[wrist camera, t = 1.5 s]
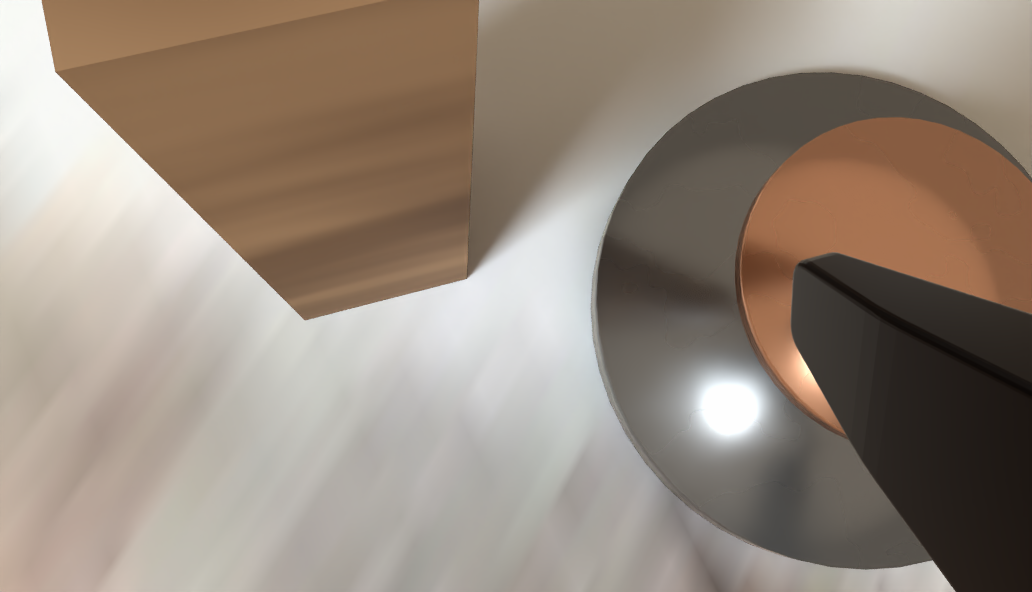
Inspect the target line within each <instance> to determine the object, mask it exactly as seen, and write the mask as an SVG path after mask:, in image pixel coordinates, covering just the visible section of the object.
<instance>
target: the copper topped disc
mask: <svg viewBox="0 0 1032 592" xmlns="http://www.w3.org/2000/svg"><path fill="white" fill-rule="evenodd" d="M831 252H837V253H841V254H844V255H847V256H850V257H854V258H857V259H860V260H863V261H866V262H869V263H873V264H876V265H879V266H882V267H885V268H888V269H891V270H895V271H898V272H901V273H904V274H907V275H910V276H914V277H917V278H920V279H923V280H926V281H929V282H933V283H936V284H939V285H942V286H945V287H948V288H952V289H955V290H958V291H961V292H964V293H967V294H971V295H974V296H977V297H980V298H983V299H986V300H989V301H993V302H996V303H999V304H1002V305H1005V306H1008V307H1012V308H1015V309H1018V310H1021V311H1024V312H1027V313H1031V314H1032V178H1031V177H1030V176H1029V174H1028V173H1027V172H1026V170H1025V169H1024V168H1023V167H1022V166H1021V165H1020V164H1019V162H1018V161H1017V160H1016V159H1015V158H1014V157H1013V156H1012V155H1011V154H1010V153H1009V152H1008V151H1007V150H1006V149H1005V148H1004V147H1003V146H1002V145H1001V144H1000V143H999V142H997V141H996V140H995V139H994V138H993V137H991V136H990V135H989V134H988V133H986V132H985V131H984V130H983V129H981V128H980V127H979V126H978V125H977V124H975V123H974V122H972V121H971V120H969V119H967V118H966V117H964V116H963V115H961V114H960V113H958V112H957V111H955V110H954V109H952V108H950V107H949V106H947V105H945V104H943V103H941V102H939V101H937V100H935V99H932V98H930V97H928V96H926V95H924V94H922V93H920V92H917V91H914V90H912V89H909V88H906V87H903V86H900V85H897V84H895V83H892V82H888V81H883V80H879V79H874V78H870V77H865V76H860V75H851V74H841V73H799V74H792V75H786V76H779V77H772V78H768V79H765V80H761V81H758V82H754V83H751V84H747V85H744V86H741V87H739V88H737V89H734V90H732V91H730V92H727V93H725V94H723V95H721V96H718V97H716V98H714V99H713V100H711V101H709V102H708V103H706V104H704V105H703V106H701V107H699V108H698V109H696V110H695V111H693V112H691V113H690V114H688V115H687V116H686V117H685V118H684V119H682V120H681V121H680V122H679V123H677V124H676V125H675V126H674V127H673V128H671V129H670V130H669V131H668V132H667V133H666V134H665V135H664V136H663V137H662V138H661V139H660V140H659V141H658V142H657V143H656V144H655V146H654V147H653V148H652V149H651V150H650V151H649V152H648V153H647V154H646V156H645V157H644V159H643V160H642V161H641V163H640V164H639V166H638V167H637V169H636V170H635V172H634V173H633V174H632V176H631V177H630V179H629V180H628V182H627V184H626V186H625V187H624V189H623V191H622V192H621V194H620V196H619V198H618V200H617V202H616V204H615V206H614V208H613V210H612V212H611V214H610V216H609V218H608V221H607V224H606V227H605V230H604V233H603V235H602V238H601V241H600V244H599V247H598V252H597V257H596V263H595V268H594V273H593V279H592V296H591V318H592V332H593V342H594V347H595V352H596V356H597V361H598V366H599V371H600V374H601V377H602V380H603V383H604V386H605V389H606V392H607V394H608V397H609V400H610V403H611V405H612V407H613V409H614V411H615V413H616V415H617V417H618V419H619V421H620V423H621V425H622V427H623V429H624V431H625V433H626V435H627V436H628V438H629V439H630V441H631V442H632V444H633V445H634V447H635V448H636V450H637V451H638V453H639V454H640V456H641V457H642V459H643V460H644V462H645V463H646V464H647V465H648V466H649V467H650V469H651V470H652V471H653V472H654V473H655V474H656V476H657V477H658V478H659V479H660V480H661V481H662V483H663V484H664V485H665V486H666V487H667V488H668V489H669V490H670V491H671V492H673V493H674V494H675V495H676V496H677V497H678V498H679V499H680V500H681V501H683V502H684V503H685V504H686V505H687V506H688V507H689V508H690V509H692V510H693V511H694V512H696V513H697V514H699V515H700V516H702V517H703V518H705V519H706V520H707V521H709V522H710V523H712V524H713V525H715V526H716V527H718V528H719V529H721V530H723V531H725V532H727V533H729V534H731V535H733V536H735V537H736V538H738V539H740V540H742V541H744V542H746V543H748V544H750V545H753V546H756V547H759V548H761V549H764V550H767V551H770V552H773V553H775V554H778V555H781V556H785V557H789V558H793V559H797V560H801V561H806V562H811V563H815V564H820V565H825V566H829V567H839V568H852V569H880V568H895V567H903V566H907V565H912V564H917V563H922V562H926V561H931V560H932V558H931V557H930V556H929V554H928V553H927V552H926V550H925V549H924V547H923V546H922V545H921V543H920V542H919V541H918V539H917V538H916V536H915V535H914V534H913V532H912V531H911V530H910V528H909V527H908V525H907V524H906V523H905V521H904V520H903V519H902V517H901V516H900V514H899V513H898V512H897V510H896V509H895V508H894V506H893V505H892V503H891V502H890V501H889V499H888V498H887V497H886V495H885V494H884V492H883V491H882V490H881V488H880V487H879V486H878V484H877V483H876V481H875V480H874V479H873V477H872V476H871V474H870V473H869V471H868V470H867V468H866V467H865V465H864V464H863V463H862V461H861V459H860V458H859V456H858V454H857V453H856V451H855V449H854V448H853V446H852V445H851V443H850V441H849V439H848V438H847V436H846V434H845V432H844V431H843V429H842V427H841V425H840V423H839V422H838V420H837V418H836V416H835V415H834V413H833V411H832V409H831V408H830V406H829V404H828V402H827V400H826V399H825V397H824V395H823V393H822V392H821V390H820V388H819V386H818V385H817V383H816V381H815V379H814V377H813V376H812V374H811V372H810V370H809V369H808V367H807V365H806V363H805V362H804V360H803V358H802V356H801V355H800V353H799V351H798V349H797V347H796V345H795V343H794V340H793V337H792V333H791V323H790V322H791V302H792V282H793V272H794V269H795V266H796V265H797V264H798V263H799V262H800V261H801V260H804V259H808V258H811V257H815V256H819V255H823V254H826V253H831Z"/></svg>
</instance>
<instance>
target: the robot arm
mask: <svg viewBox="0 0 1032 592" xmlns="http://www.w3.org/2000/svg"><path fill="white" fill-rule="evenodd" d="M790 323H791V333H792V337H793V340H794V343H795V345H796V347H797V349H798V351H799V353H800V355H801V356H802V358H803V360H804V362H805V363H806V365H807V367H808V369H809V370H810V372H811V374H812V376H813V377H814V379H815V381H816V383H817V385H818V386H819V388H820V390H821V392H822V393H823V395H824V397H825V399H826V400H827V402H828V404H829V406H830V408H831V409H832V411H833V413H834V415H835V416H836V418H837V420H838V422H839V423H840V425H841V427H842V429H843V431H844V432H845V434H846V436H847V438H848V439H849V441H850V443H851V445H852V446H853V448H854V449H855V451H856V453H857V454H858V456H859V458H860V459H861V461H862V463H863V464H864V465H865V467H866V468H867V470H868V471H869V473H870V474H871V476H872V477H873V479H874V480H875V481H876V483H877V484H878V486H879V487H880V488H881V490H882V491H883V492H884V494H885V495H886V497H887V498H888V499H889V501H890V502H891V503H892V505H893V506H894V508H895V509H896V510H897V512H898V513H899V514H900V516H901V517H902V519H903V520H904V521H905V523H906V524H907V525H908V527H909V528H910V530H911V531H912V532H913V534H914V535H915V536H916V538H917V539H918V541H919V542H920V543H921V545H922V546H923V547H924V549H925V550H926V552H927V553H928V554H929V556H930V557H931V558H932V560H933V561H934V563H935V564H936V565H937V567H938V568H939V569H940V571H941V572H942V574H943V575H944V576H945V578H946V579H947V580H948V582H949V583H950V585H951V586H952V587H953V589H954V590H955V591H956V592H1032V314H1031V313H1027V312H1024V311H1021V310H1018V309H1015V308H1012V307H1008V306H1005V305H1002V304H999V303H996V302H993V301H989V300H986V299H983V298H980V297H977V296H974V295H971V294H967V293H964V292H961V291H958V290H955V289H952V288H948V287H945V286H942V285H939V284H936V283H933V282H929V281H926V280H923V279H920V278H917V277H914V276H910V275H907V274H904V273H901V272H898V271H895V270H891V269H888V268H885V267H882V266H879V265H876V264H873V263H869V262H866V261H863V260H860V259H857V258H854V257H850V256H847V255H844V254H841V253H837V252H831V253H826V254H823V255H819V256H815V257H811V258H808V259H804V260H801V261H800V262H799V263H798V264H797V265H796V266H795V269H794V272H793V282H792V302H791V322H790Z"/></svg>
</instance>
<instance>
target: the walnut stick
mask: <svg viewBox="0 0 1032 592" xmlns="http://www.w3.org/2000/svg"><path fill="white" fill-rule="evenodd" d="M42 5H43V10H44V15H45V20H46V25H47V31H48V36H49V41H50V46H51V51H52V57H53V62H54V67H55V72H56V73H57V74H58V75H59V76H60V77H61V78H62V79H63V80H64V81H65V82H66V83H67V84H68V85H69V86H70V87H71V88H72V89H73V90H74V91H75V92H76V93H77V94H78V95H79V96H80V97H81V98H82V99H83V100H84V101H85V102H86V103H87V104H88V105H89V106H90V107H91V108H92V109H93V110H94V111H95V112H96V113H97V114H98V115H99V116H100V117H101V118H102V119H103V120H104V121H105V122H106V123H107V124H108V125H109V126H110V127H111V128H112V129H113V130H114V131H115V132H116V133H117V134H118V135H119V136H120V137H121V138H122V139H123V140H124V141H125V142H126V143H127V144H128V145H129V146H130V147H131V148H132V149H133V150H134V151H135V152H136V153H137V154H138V155H139V156H140V157H141V158H142V159H143V160H145V161H146V162H147V163H148V164H149V165H150V166H151V167H152V168H153V169H154V170H155V171H156V172H157V173H158V174H159V175H160V176H161V177H162V178H163V179H164V180H165V181H166V182H167V183H168V184H169V185H170V186H171V187H172V188H173V189H174V190H175V191H176V192H177V193H178V194H179V195H180V196H181V197H182V198H183V199H184V200H185V201H186V202H187V203H188V204H189V205H190V206H191V207H192V208H193V209H194V210H195V211H196V212H197V213H198V214H199V215H200V216H201V217H202V218H203V219H204V220H205V221H206V222H207V223H208V224H209V225H210V226H211V227H212V228H213V229H214V230H215V231H216V232H217V233H218V234H219V235H220V236H221V237H222V238H223V239H224V240H225V241H226V242H227V243H228V244H229V245H230V246H231V247H232V248H233V249H234V250H235V251H236V252H237V253H238V254H239V255H240V256H241V257H242V258H243V259H244V260H245V261H246V262H247V263H248V264H249V265H250V266H251V267H252V268H253V269H254V270H255V271H256V272H257V273H258V274H259V275H260V276H261V277H262V278H263V279H264V280H265V281H266V282H267V283H268V284H269V285H270V286H271V287H272V288H273V289H274V290H275V291H276V292H277V293H278V294H279V295H280V296H281V297H282V298H283V299H284V300H285V301H286V302H287V303H288V304H289V305H290V306H291V307H292V308H293V309H294V310H295V311H296V312H297V313H298V314H299V315H300V316H301V317H302V318H303V319H304V320H308V319H312V318H316V317H320V316H324V315H328V314H331V313H335V312H339V311H343V310H347V309H351V308H355V307H359V306H363V305H366V304H370V303H374V302H378V301H382V300H386V299H390V298H394V297H398V296H402V295H405V294H409V293H413V292H417V291H421V290H425V289H429V288H433V287H437V286H441V285H444V284H448V283H452V282H456V281H460V280H464V279H467V262H468V239H469V216H470V193H471V171H472V148H473V125H474V102H475V79H476V56H477V34H478V11H479V0H42Z"/></svg>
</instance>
